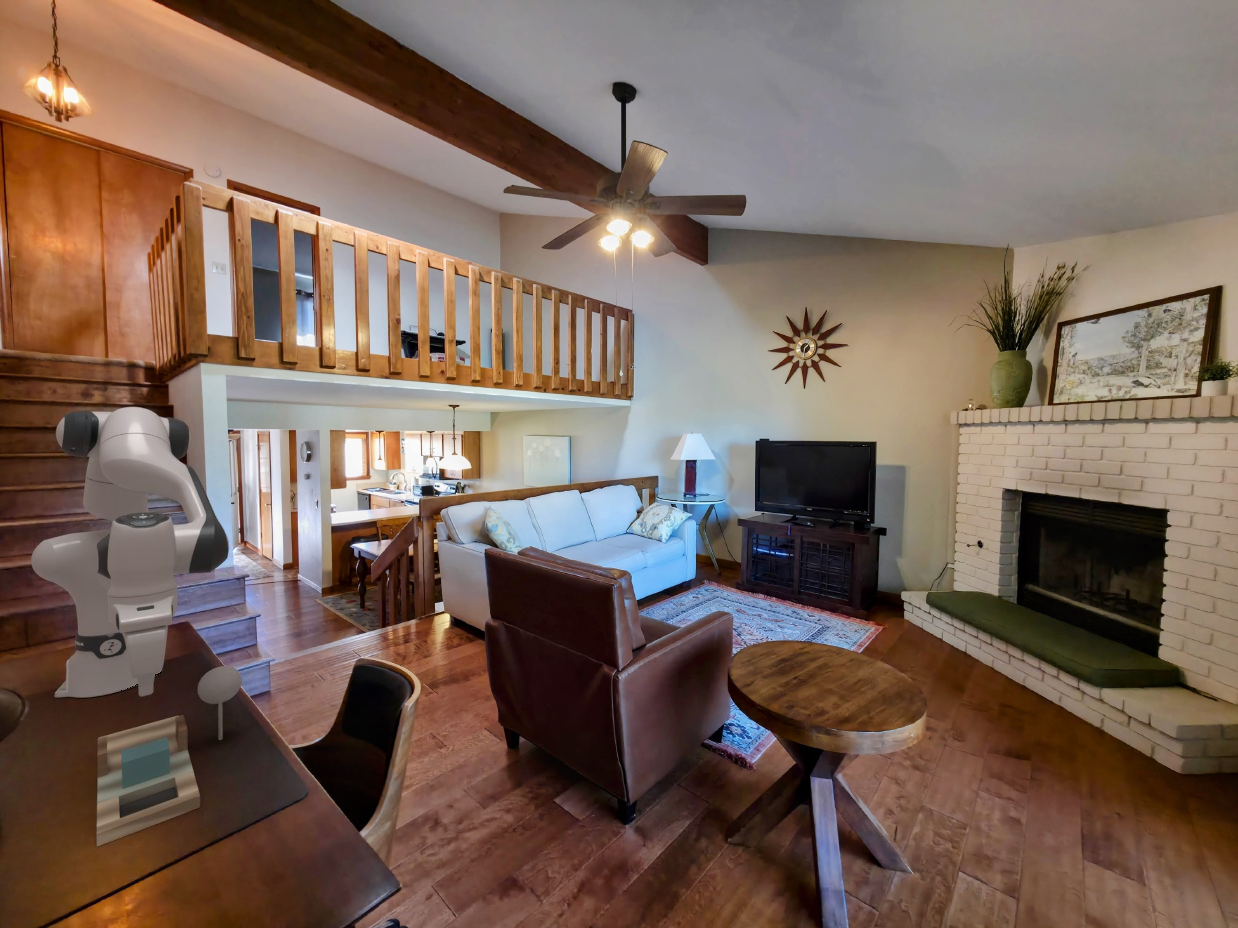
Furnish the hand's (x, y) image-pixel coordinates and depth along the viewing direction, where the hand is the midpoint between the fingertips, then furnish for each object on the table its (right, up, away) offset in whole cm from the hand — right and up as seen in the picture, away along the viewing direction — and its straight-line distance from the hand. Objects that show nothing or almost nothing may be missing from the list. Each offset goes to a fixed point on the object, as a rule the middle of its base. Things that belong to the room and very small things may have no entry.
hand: (144, 684), depth 88 cm
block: (-1, -16, +1) cm, 16 cm away
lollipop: (+1, -18, +15) cm, 24 cm away
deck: (-3, -18, +4) cm, 19 cm away
